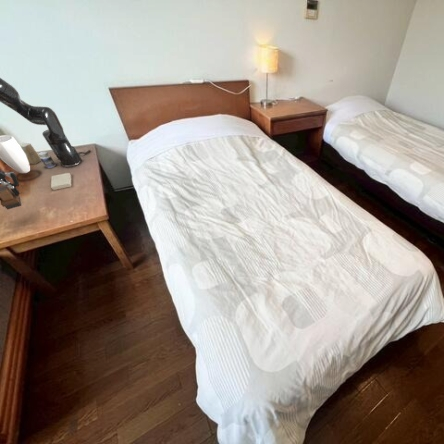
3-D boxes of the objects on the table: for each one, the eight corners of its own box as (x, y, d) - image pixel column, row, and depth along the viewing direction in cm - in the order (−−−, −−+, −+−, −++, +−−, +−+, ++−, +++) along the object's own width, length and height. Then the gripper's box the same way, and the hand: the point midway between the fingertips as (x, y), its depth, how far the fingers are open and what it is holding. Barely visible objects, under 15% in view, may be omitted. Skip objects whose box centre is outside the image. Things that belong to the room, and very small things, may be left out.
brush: (5, 199, 108) (-8, 185, 103) (20, 195, 111) (9, 182, 106) (6, 210, 104) (-7, 196, 99) (22, 206, 106) (10, 192, 101)
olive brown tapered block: (35, 164, 147) (23, 146, 140) (28, 163, 147) (15, 146, 140) (42, 159, 151) (30, 142, 144) (35, 159, 151) (22, 142, 144)
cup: (39, 168, 144) (13, 133, 130) (41, 177, 139) (14, 140, 124) (15, 174, 139) (-15, 137, 124) (16, 182, 133) (-15, 145, 119)
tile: (53, 179, 138) (51, 176, 137) (71, 175, 142) (69, 172, 141) (53, 190, 131) (50, 187, 130) (71, 186, 135) (69, 183, 134)
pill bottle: (48, 168, 145) (39, 155, 139) (44, 166, 147) (35, 153, 141) (57, 165, 148) (49, 152, 142) (53, 163, 150) (45, 150, 144)
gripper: (2, 153, 100) (30, 187, 111) (-50, 162, 92) (-15, 198, 104) (3, 161, 96) (31, 195, 107) (-52, 171, 88) (-15, 208, 100)
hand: (8, 197), depth 105 cm, fingers closed on brush, 5 cm apart
